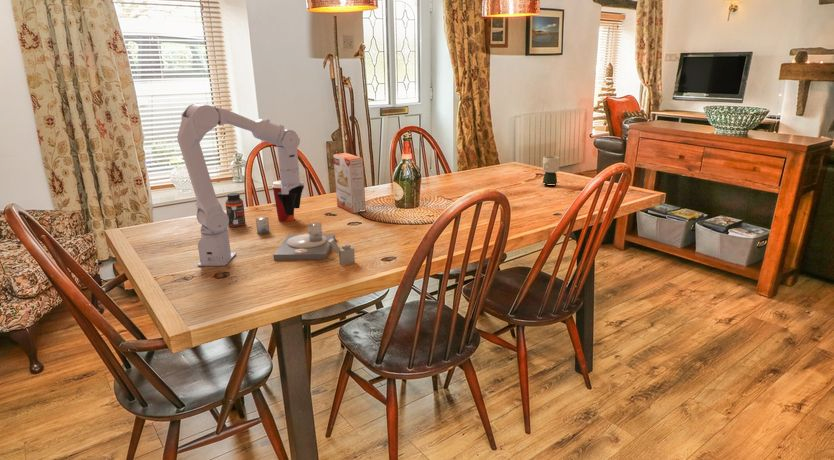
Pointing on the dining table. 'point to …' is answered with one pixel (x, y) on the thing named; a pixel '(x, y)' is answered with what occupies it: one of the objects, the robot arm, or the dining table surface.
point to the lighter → (343, 252)
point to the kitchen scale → (303, 248)
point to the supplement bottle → (235, 210)
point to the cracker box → (349, 182)
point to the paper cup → (280, 204)
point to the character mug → (550, 169)
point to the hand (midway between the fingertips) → (293, 211)
